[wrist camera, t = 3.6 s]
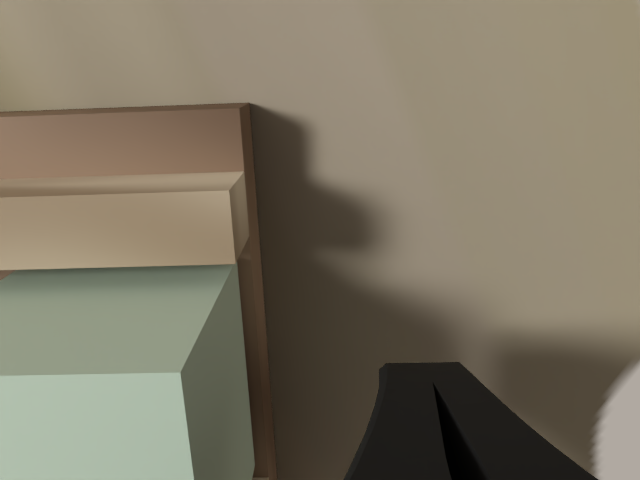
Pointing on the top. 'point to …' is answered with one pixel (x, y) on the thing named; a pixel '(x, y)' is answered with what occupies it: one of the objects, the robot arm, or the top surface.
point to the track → (141, 207)
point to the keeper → (124, 375)
